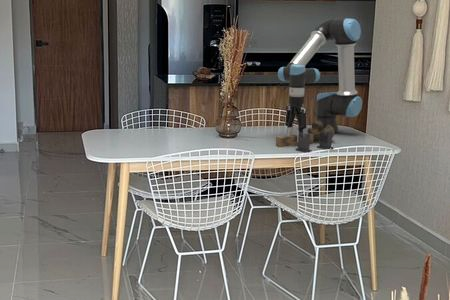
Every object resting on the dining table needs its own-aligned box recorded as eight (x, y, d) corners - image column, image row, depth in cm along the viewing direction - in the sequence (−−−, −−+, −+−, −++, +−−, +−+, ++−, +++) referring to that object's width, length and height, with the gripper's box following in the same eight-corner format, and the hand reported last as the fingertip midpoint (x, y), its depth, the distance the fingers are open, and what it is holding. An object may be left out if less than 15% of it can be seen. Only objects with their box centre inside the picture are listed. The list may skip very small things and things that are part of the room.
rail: (308, 142, 311) (309, 133, 310) (313, 143, 308) (313, 134, 307) (275, 146, 299) (276, 136, 298) (280, 147, 296) (280, 137, 295)
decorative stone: (320, 134, 302) (303, 119, 313) (315, 152, 308) (298, 137, 318) (343, 130, 310) (326, 116, 321) (338, 147, 316) (321, 133, 326)
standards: (323, 146, 299) (324, 129, 297) (333, 149, 293) (334, 131, 291) (295, 150, 289) (296, 132, 287) (304, 152, 283) (305, 134, 281)
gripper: (278, 94, 305) (277, 138, 309) (303, 98, 289) (301, 144, 293) (290, 93, 309) (288, 137, 313) (315, 97, 293) (313, 143, 297)
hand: (294, 140), depth 303 cm, fingers open, 7 cm apart
